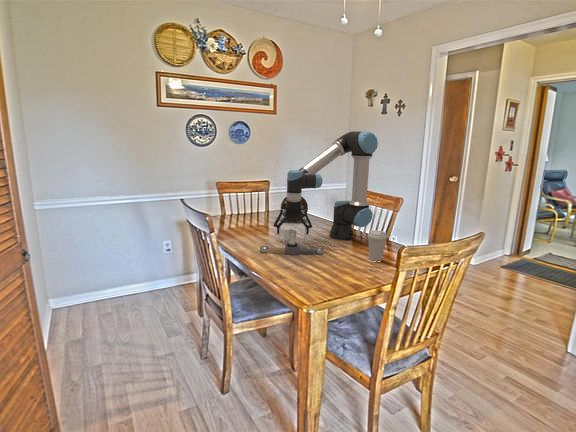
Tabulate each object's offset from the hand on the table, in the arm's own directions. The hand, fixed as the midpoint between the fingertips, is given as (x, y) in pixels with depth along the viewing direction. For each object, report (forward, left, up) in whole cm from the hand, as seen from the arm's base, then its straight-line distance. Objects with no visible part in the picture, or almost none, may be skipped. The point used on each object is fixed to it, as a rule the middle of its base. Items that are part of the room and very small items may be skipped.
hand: (292, 239), depth 178 cm
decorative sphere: (-3, -71, -7) cm, 71 cm away
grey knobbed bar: (0, 0, -7) cm, 7 cm away
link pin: (0, 0, -7) cm, 7 cm away
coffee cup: (-42, +9, -7) cm, 44 cm away
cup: (+5, -20, -7) cm, 22 cm away
